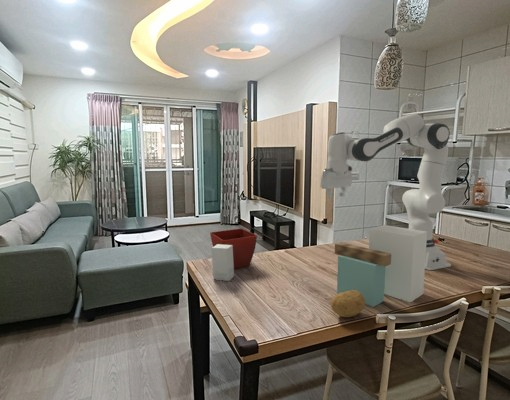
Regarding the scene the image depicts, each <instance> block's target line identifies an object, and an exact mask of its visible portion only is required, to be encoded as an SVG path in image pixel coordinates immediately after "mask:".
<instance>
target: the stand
mask: <svg viewBox="0 0 510 400" xmlns="http://www.w3.org/2000/svg"><path fill="white" fill-rule="evenodd" d="M368 238H369V239H368V249H373V250H377V251H382V252H386V253H390V254H391V264H390V265H388V266H386V267H385V289H384V296H385V295H386V296H389V297H392V298H394V299H397V300H401V299H402V300H401V301H404V302H406V303H407V302H408V303H410V302H411V303H413V301H415V300H416V299H418V298H419V297H421V296H422V295H424V290H425V289H424V287H425V286H424V285H425V273H426V272H425V271H426V269H425V258H426V242H427V232H426V231H420V230H413V229H409V228H407V227H399V226H394V225H389V224H388V225H387V224H382V225H378V226H374V227H371V228H369V237H368Z"/></svg>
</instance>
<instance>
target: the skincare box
mask: <svg viewBox="0 0 510 400" xmlns="http://www.w3.org/2000/svg"><path fill="white" fill-rule="evenodd" d="M211 256H212V257H211V259H212V261H211V262H212V277H213V279H216V280H215V281H222V280H223V282H230V281H231V280H232V279H233V278H234V277H235V269H234V264H233V245H222V244H217V245H215V246H214V247H213V246H212V247H211ZM213 279H212V280H213Z"/></svg>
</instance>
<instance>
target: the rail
mask: <svg viewBox="0 0 510 400" xmlns="http://www.w3.org/2000/svg"><path fill="white" fill-rule="evenodd" d="M334 254H336V255H338V256H339V255H343V256H347V257H351V258H355V259H359V260H362V261H366V262H370V263H374V264H378V265H382V266H385V267H386V266H388V265H390V264H391V254H390V253H386V252H382V251H377V250H373V249H369V247H368V248H367V247H363V246H359V245H354V244H351V243H345V242H337V243H334Z"/></svg>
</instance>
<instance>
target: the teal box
mask: <svg viewBox="0 0 510 400" xmlns="http://www.w3.org/2000/svg"><path fill="white" fill-rule="evenodd" d="M336 283H337V284H336V285H337V287H336V295H337V294H339V293H341V292H346V291H350V290H357V291H359V292H360V293H361V294H362V295H363V297H364V299H365V306H369V307H373V308H374V307H376V306H377V305H379V304H382V303H383V302H384V301H385V294H384V289H385V266H382V265H378V264H374V263H370V262H366V261H362V260H359V259H355V258H351V257H347V256H343V255H339V254H338V255H337V282H336Z"/></svg>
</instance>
